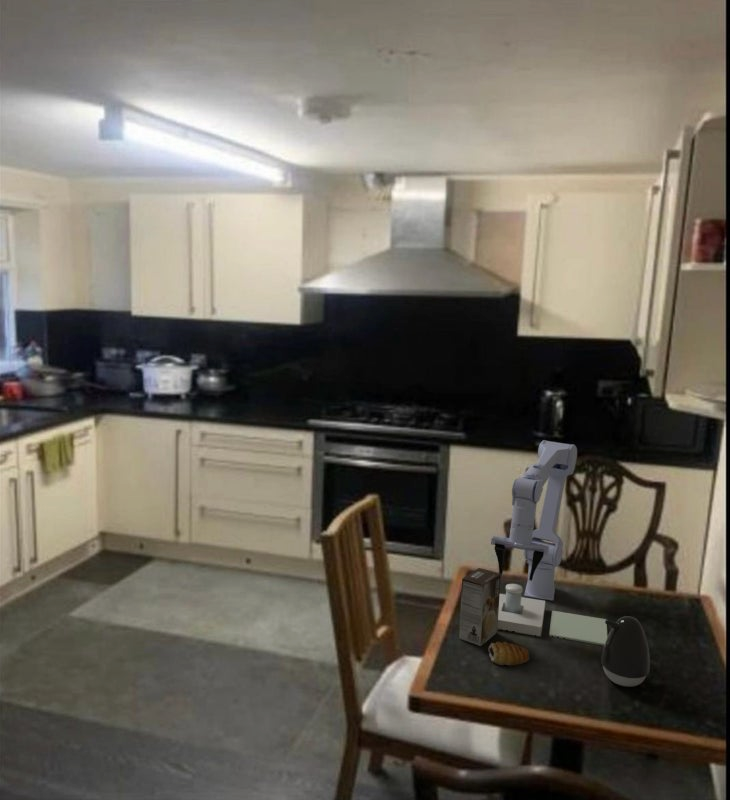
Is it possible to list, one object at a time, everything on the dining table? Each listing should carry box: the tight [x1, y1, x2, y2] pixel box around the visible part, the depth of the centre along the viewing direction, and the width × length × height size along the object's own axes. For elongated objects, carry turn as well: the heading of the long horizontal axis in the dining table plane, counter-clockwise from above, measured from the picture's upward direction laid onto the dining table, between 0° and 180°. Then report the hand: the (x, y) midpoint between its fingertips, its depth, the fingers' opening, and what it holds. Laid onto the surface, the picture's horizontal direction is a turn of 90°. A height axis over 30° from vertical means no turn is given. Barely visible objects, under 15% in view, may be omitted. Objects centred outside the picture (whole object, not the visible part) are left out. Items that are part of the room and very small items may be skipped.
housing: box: [497, 593, 546, 637], centre depth 188 cm, size 16×16×2 cm
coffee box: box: [458, 567, 502, 647], centre depth 177 cm, size 9×6×16 cm
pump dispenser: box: [600, 615, 651, 688], centre depth 159 cm, size 10×10×15 cm
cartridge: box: [504, 583, 524, 614], centre depth 188 cm, size 4×4×8 cm
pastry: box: [488, 641, 530, 666], centre depth 167 cm, size 9×7×4 cm
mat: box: [548, 610, 608, 647], centre depth 184 cm, size 14×14×1 cm
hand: (515, 576), depth 183 cm, fingers open, 7 cm apart
